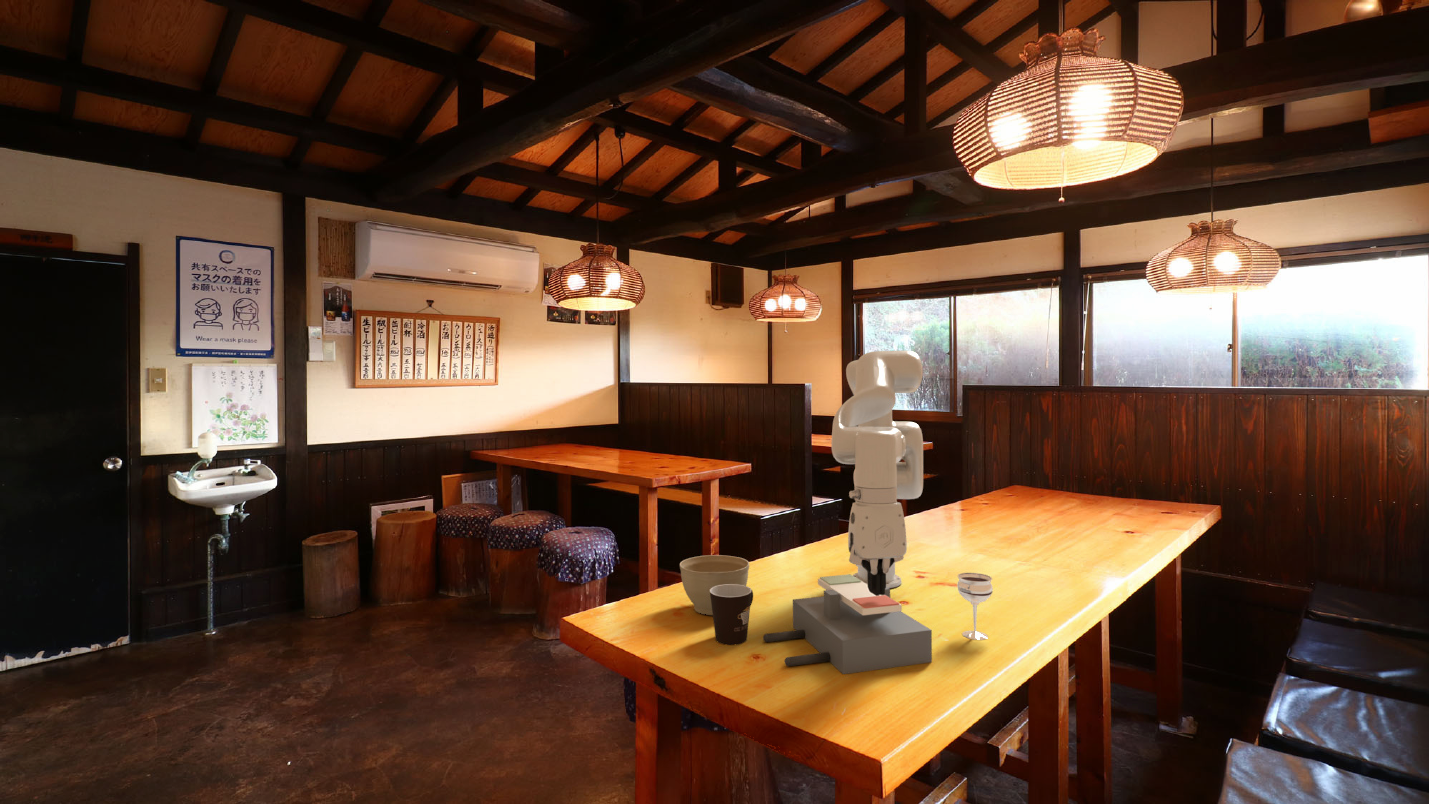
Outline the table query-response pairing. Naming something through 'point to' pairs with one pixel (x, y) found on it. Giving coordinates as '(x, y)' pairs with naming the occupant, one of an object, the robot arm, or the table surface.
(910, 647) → the box
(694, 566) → the planter bowl
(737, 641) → the coffee mug
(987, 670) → the table surface
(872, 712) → the table surface
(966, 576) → the wineglass
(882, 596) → the breaker paddle
